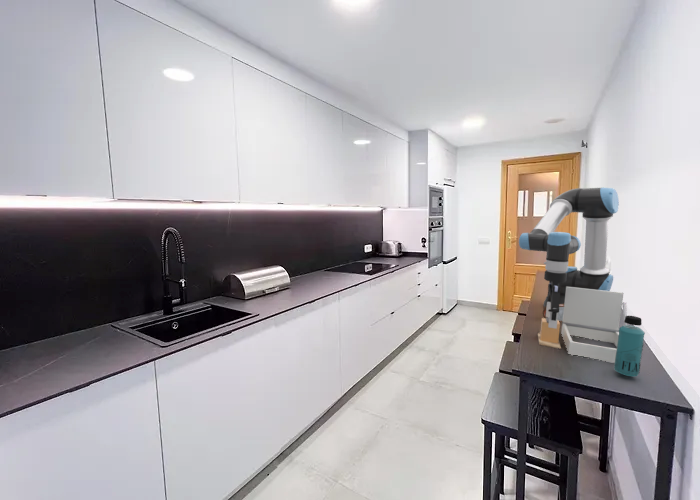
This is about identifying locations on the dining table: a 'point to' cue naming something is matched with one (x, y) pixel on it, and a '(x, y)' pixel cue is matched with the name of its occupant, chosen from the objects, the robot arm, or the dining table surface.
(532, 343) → the dining table surface
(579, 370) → the dining table surface
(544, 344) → the metal plate
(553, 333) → the tan and grey block
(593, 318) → the equipment case
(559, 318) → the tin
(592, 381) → the dining table surface
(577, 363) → the dining table surface
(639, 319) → the beverage bottle
